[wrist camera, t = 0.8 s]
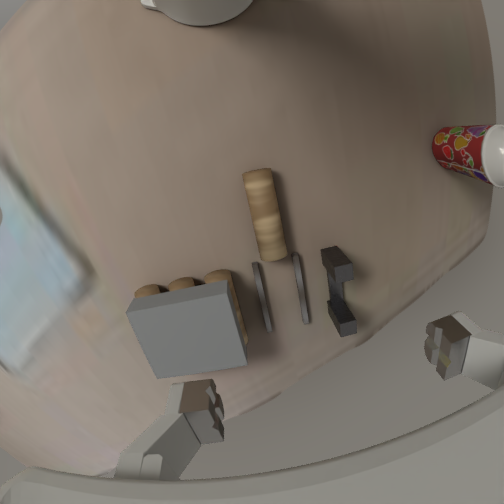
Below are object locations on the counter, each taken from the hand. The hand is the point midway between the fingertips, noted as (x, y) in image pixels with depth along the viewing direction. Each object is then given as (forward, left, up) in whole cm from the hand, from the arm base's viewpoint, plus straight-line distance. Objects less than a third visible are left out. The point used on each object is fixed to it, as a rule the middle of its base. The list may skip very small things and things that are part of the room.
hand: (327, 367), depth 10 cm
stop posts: (+15, +9, -35) cm, 39 cm away
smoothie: (-3, +32, -35) cm, 47 cm away
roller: (+2, +1, -35) cm, 35 cm away
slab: (+15, -13, -31) cm, 37 cm away
